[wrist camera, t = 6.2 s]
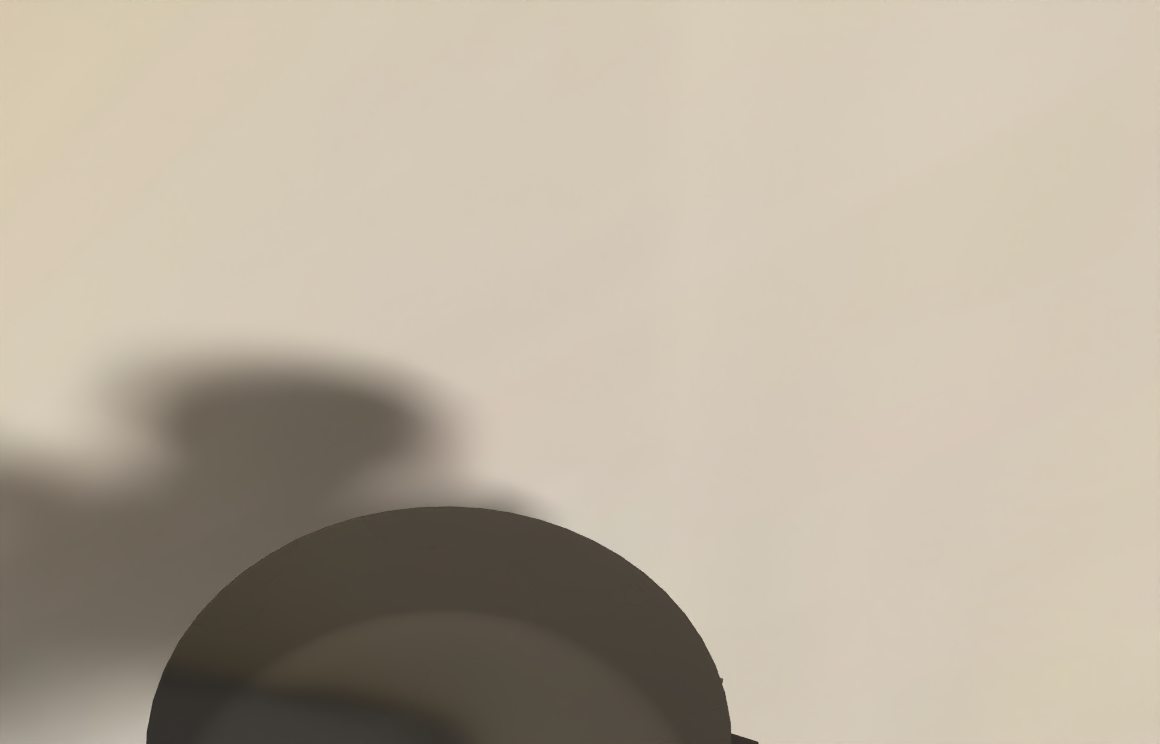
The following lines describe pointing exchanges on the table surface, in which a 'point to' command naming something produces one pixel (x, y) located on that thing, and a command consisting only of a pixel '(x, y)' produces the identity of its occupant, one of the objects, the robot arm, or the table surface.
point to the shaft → (441, 643)
